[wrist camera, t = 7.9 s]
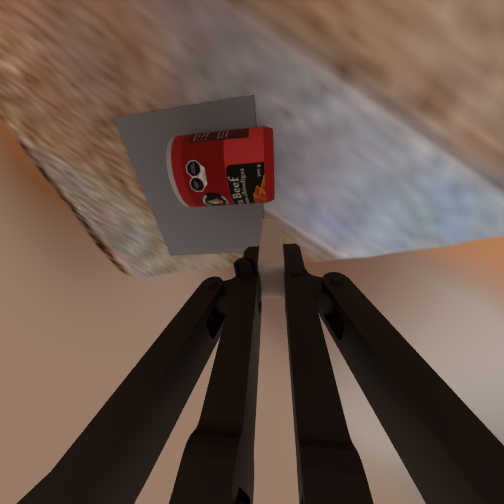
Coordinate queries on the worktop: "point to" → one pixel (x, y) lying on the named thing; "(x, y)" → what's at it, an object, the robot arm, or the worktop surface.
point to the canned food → (222, 167)
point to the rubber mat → (159, 187)
